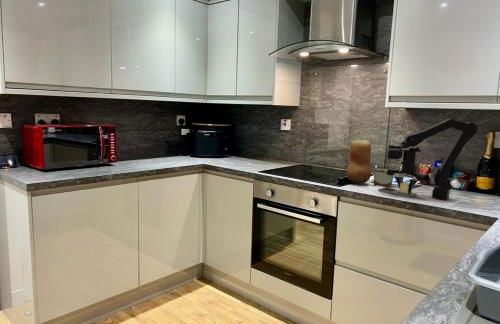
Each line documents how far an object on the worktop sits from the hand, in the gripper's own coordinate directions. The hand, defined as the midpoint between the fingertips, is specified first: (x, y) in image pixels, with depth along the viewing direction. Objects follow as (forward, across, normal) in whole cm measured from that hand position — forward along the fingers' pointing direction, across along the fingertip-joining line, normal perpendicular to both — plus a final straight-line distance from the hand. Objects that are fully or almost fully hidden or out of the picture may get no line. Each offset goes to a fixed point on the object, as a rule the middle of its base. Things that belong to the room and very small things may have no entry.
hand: (405, 191), depth 182 cm
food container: (+3, +18, -14) cm, 23 cm away
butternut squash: (+3, +32, -10) cm, 33 cm away
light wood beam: (+2, 0, 0) cm, 2 cm away
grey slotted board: (+3, +4, 0) cm, 5 cm away
